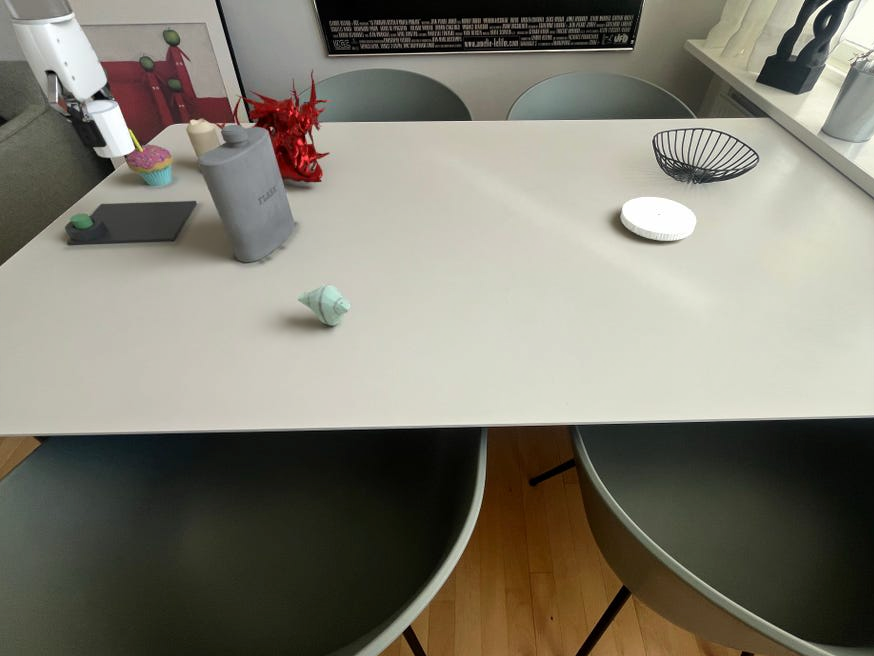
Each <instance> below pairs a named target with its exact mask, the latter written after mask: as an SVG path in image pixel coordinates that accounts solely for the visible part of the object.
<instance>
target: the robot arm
mask: <svg viewBox="0 0 874 656" xmlns="http://www.w3.org/2000/svg"><path fill="white" fill-rule="evenodd" d="M0 2H1V4H2V6H3V8H4V9H5V11H6V13H7V15H8V16H9V19H10V20H11V22H12V27H13V30H14V33H15V36H16V38H17V41H18V44H19V46H20V48H21V50H22V52H23V55H24V57H25V59H26V61H27V63H28V65H29V67H30V69H31V71H32V74H33V75H34V77H35V79H36V81H37V82H38V84H39V86H40V88H41V90H42V92H43V93H44V95H45V97H46V98H47V102H48V105H49V107H51V108H52V109H54V110H56V112H58V113H59V114H60V115H61V116H62V117H64V118H65V119H66V121H67V122H68V123H70V124H71V125H72V127H73V129H74V131H75V132H76V134H77V136H78V138H79V139H80V141H81V143H82V145H83V146H84V147H85V148H93V147H105V146H106V145H107V144H106V142H105V140H104V138H103V136H102V134H101V132H100V130H99V129H98V127H97V125H96V123H95V121H94V120H90V117H89V113H88V110H87V106H86V102H87V101H86V100H88V99H90V98H91V99H92V101H95V100H112V101H115V97H114V95H113V94H112V93H111V84H110V83H109V76H108V71H107V69H106V68H105V67H104V66H102V64H101V62H100V60H99V58H98V56H97V54H96V52H95V50H94V48H93V46H92V45H91V43H90V41H89V39H88V37H87V36H86V34H85V32H84V31H83V29H82V27H81V25H80V24H79V22H78V21H77V18H76V14H75V11H74V10H73V8H72V6H71V4H70V2H69V0H0ZM69 96H73V97H70V98H69ZM115 102H116V101H115ZM77 104H78V108H79V111H80V112H79V111H78V110H77V109H75V108H74V107H73V106H72V105H77Z"/></svg>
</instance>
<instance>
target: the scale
mask: <svg viewBox="0 0 874 656" xmlns="http://www.w3.org/2000/svg"><path fill="white" fill-rule="evenodd" d="M197 205H198V203H197V200H181V201H178V200H177V201H151V202H148V201H147V202H115V203H100V205H99V206H97V208H96V209H95V210H94V211H93V212H92V213H91V214H90V215H89V217H90V219H91V220H92V222H93V225H92V226H90V227H87V228H84V229H76V228H75V226H74V225H73V223H72V222H71V221H69V222H68V223H67V224H66V225H65V226H64V230H65V232H66V234H67V235H68V236H69V239H68V241H67V242H66V244H67V245H68V246H89V245H90V246H91V245H113V244H114V245H115V244H117V245H119V244H120V245H121V244H141V243H142V244H143V243H145V244H146V243H166V242H167V243H169V242H175V241H176V239H177V238H178V236H179V235H180V233H181V231H182V229H183V228H184V226H185V224H186V223H187V221H188V220H189V218H190V216H191V215H192V213H193V212H194V210H195V208H196V206H197Z"/></svg>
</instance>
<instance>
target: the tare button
mask: <svg viewBox="0 0 874 656" xmlns="http://www.w3.org/2000/svg"><path fill="white" fill-rule="evenodd" d="M89 216H90V215H89V214H88V213H83V212H82V213H81V212H80V213H77V214H74V215H72V216H71V217H70V218H69V220H70V222H72V223H73V225H74V226H75V228H76V229H84V228H87V227H90V226H92V225H93V222H92V220H91V219H90V217H89Z"/></svg>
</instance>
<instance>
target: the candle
mask: <svg viewBox="0 0 874 656" xmlns="http://www.w3.org/2000/svg"><path fill="white" fill-rule="evenodd" d="M185 131H186V133H187V135H188V138H189V141H190V143H191V146H192V149H193V151H194V153H195V155H196V158H197V159H198V158H199V157H200V156H201V155H202V154H204V153H206V152H208V151H210V150H213V149H215V148H217V147H219V146H220V145H222V143H221V142H220V138H219V136H218V133H217V131H216V128H215V124H213V123H212V122H209V121H207V120H205V119H204V118H202V117H201V118H199V119H197V120H196V119H191V120H189V122H188V125H187V127H186V129H185Z"/></svg>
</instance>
